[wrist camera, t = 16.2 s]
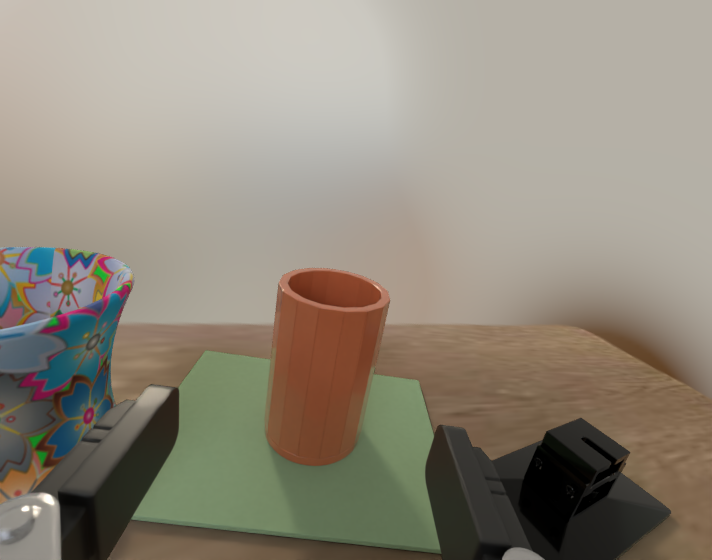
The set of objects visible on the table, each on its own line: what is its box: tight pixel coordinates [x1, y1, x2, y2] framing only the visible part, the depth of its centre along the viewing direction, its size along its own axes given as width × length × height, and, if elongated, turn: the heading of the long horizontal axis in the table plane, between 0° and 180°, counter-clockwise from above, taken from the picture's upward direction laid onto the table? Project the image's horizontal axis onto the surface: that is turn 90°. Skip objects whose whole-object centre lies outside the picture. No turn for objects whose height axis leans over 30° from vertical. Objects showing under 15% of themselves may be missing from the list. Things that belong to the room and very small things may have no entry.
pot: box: [264, 268, 390, 466], centre depth 22 cm, size 6×6×10 cm
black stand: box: [492, 418, 671, 560], centre depth 21 cm, size 12×7×5 cm, turn 118°
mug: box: [0, 247, 134, 504], centre depth 16 cm, size 12×9×11 cm
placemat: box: [131, 350, 441, 554], centre depth 24 cm, size 18×14×1 cm
